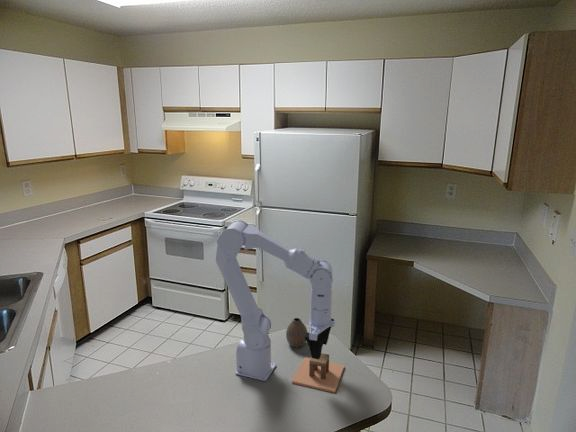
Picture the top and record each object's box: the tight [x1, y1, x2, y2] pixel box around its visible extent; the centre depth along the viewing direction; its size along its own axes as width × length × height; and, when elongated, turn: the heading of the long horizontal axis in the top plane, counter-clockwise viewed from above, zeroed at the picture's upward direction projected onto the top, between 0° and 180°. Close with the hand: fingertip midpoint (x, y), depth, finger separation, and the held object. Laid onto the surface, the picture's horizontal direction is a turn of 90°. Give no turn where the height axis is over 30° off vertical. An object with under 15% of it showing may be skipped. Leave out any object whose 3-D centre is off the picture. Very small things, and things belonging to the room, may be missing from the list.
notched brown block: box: [309, 352, 330, 379], centre depth 112 cm, size 4×4×5 cm
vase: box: [285, 317, 308, 348], centre depth 128 cm, size 7×7×9 cm
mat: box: [291, 357, 345, 393], centre depth 113 cm, size 12×12×1 cm
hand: (319, 350), depth 111 cm, fingers open, 7 cm apart
